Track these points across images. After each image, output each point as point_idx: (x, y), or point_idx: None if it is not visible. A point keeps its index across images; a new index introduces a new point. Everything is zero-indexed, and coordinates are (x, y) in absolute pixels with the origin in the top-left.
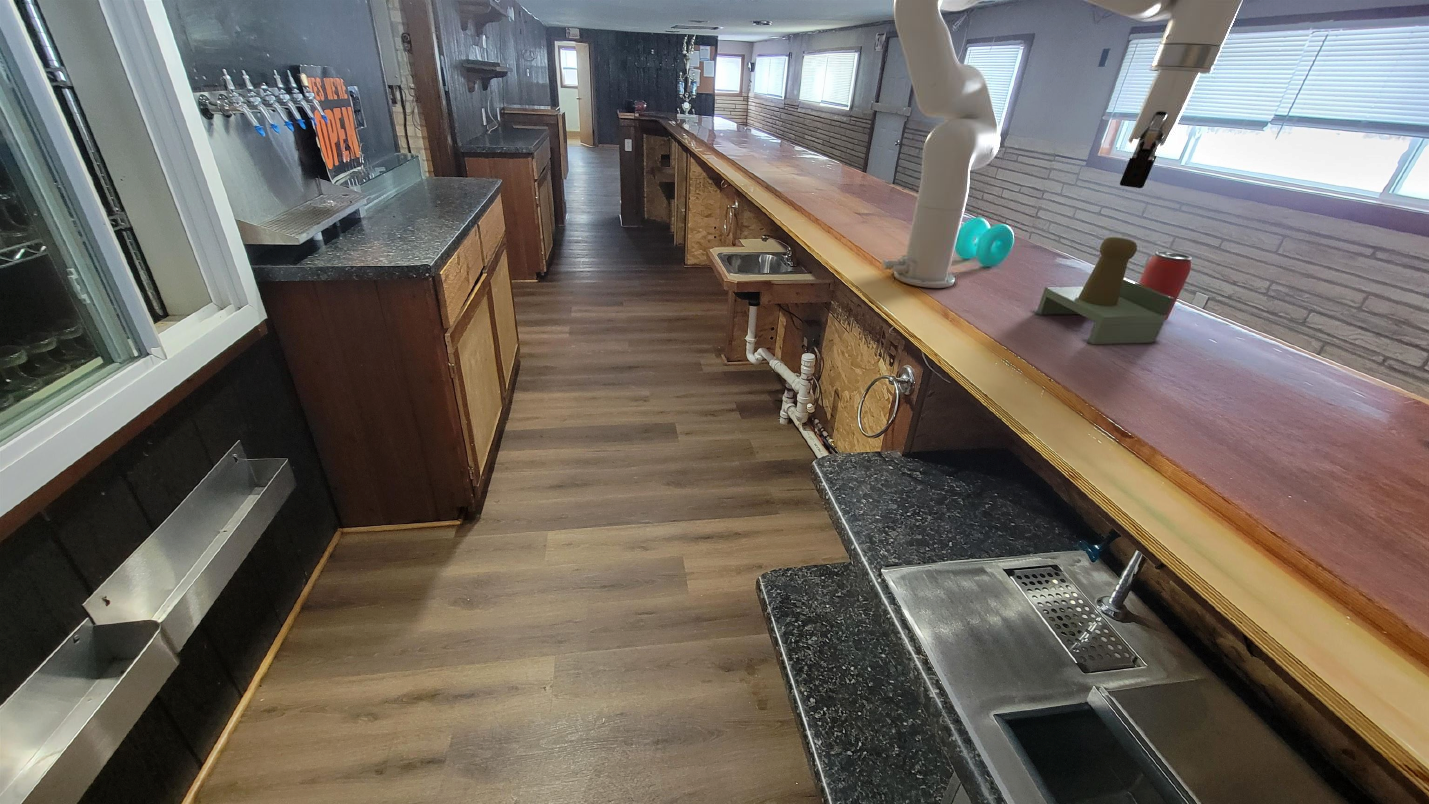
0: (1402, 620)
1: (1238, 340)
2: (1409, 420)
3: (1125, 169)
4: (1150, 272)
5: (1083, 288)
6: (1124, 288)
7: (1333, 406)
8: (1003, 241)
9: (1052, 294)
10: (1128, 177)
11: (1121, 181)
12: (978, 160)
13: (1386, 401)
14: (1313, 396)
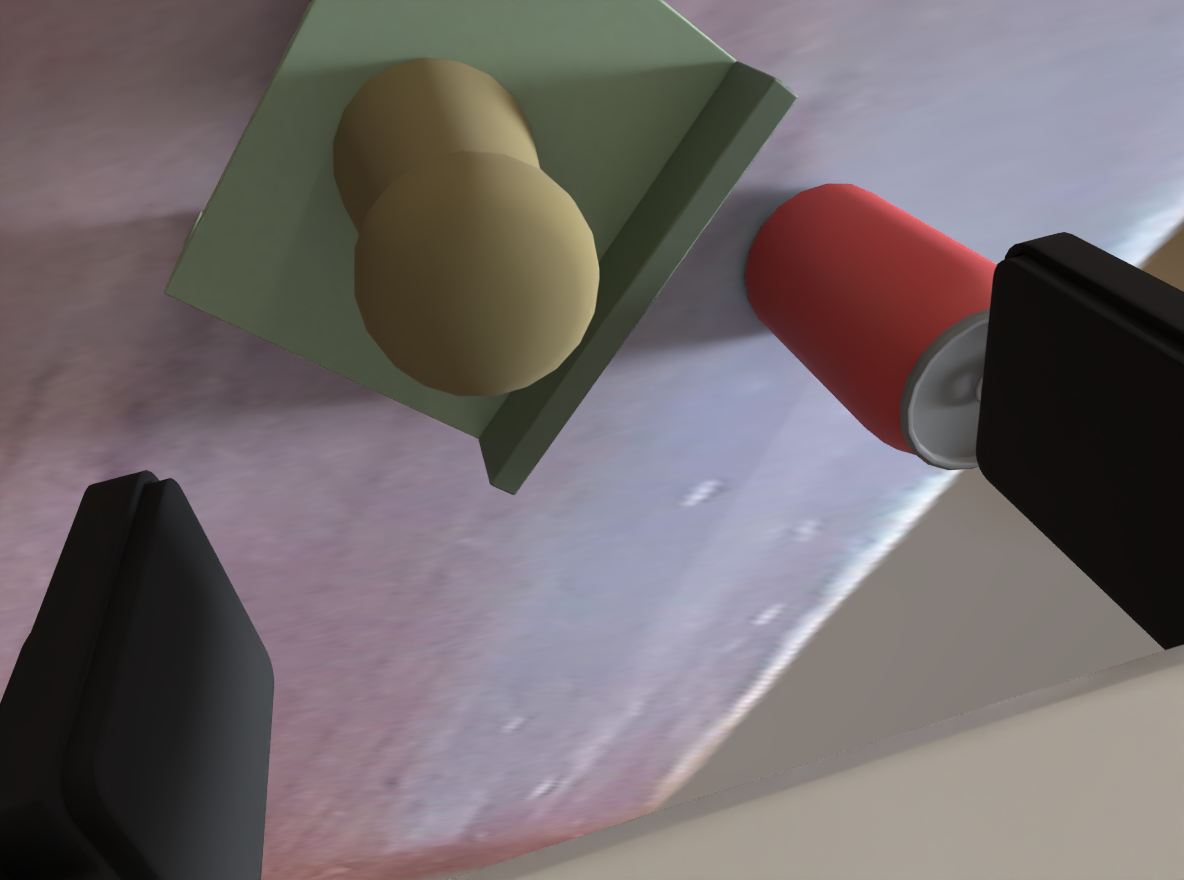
0: None
1: (779, 533)
2: (453, 864)
3: (31, 640)
4: (866, 303)
5: (396, 87)
6: (637, 242)
7: (383, 789)
8: None
9: None
10: (24, 647)
11: (81, 517)
12: None
13: (548, 821)
14: (415, 754)
